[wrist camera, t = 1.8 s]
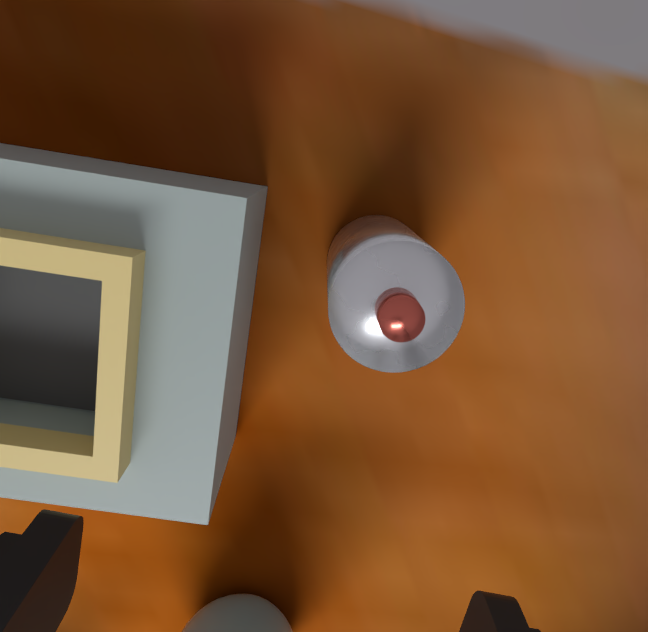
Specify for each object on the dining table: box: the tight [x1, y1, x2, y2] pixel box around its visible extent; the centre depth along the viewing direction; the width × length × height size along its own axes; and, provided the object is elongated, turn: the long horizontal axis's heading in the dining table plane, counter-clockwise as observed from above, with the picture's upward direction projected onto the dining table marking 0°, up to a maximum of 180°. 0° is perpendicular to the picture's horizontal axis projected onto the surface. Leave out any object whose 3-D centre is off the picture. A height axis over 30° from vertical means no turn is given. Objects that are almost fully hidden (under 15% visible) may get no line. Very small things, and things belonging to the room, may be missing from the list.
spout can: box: [327, 215, 465, 372], centre depth 24 cm, size 5×5×10 cm
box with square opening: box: [0, 143, 268, 525], centre depth 25 cm, size 16×14×10 cm
